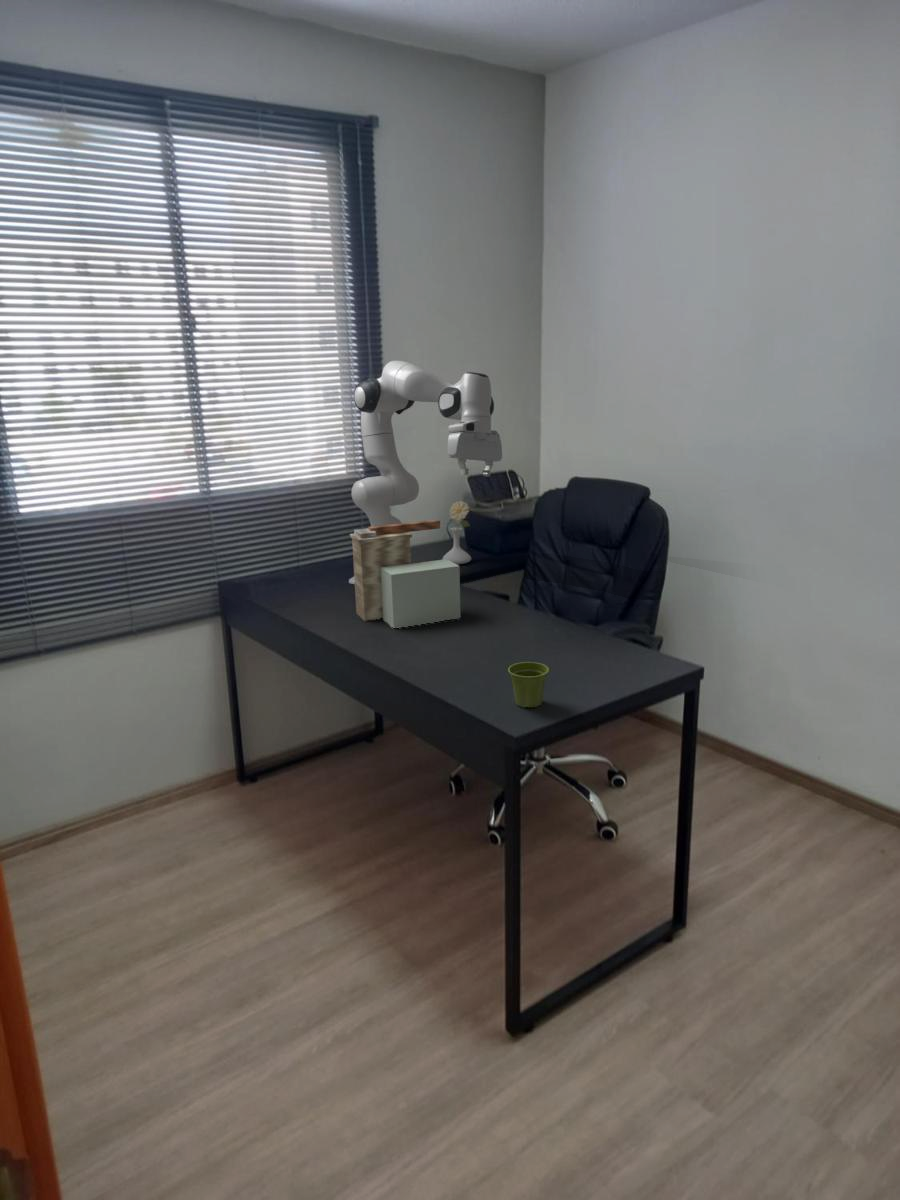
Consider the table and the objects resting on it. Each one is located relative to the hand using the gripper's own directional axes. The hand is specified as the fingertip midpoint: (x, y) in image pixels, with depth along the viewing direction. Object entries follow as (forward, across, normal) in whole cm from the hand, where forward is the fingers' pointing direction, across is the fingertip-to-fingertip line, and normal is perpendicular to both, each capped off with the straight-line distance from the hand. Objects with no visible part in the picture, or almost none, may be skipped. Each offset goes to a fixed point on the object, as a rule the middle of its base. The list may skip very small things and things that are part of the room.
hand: (475, 475), depth 247 cm
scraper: (+17, +8, -26) cm, 32 cm away
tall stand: (+43, +9, -31) cm, 54 cm away
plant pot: (+57, +32, +48) cm, 80 cm away
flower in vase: (+30, -53, -58) cm, 84 cm away
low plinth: (+44, +5, -18) cm, 48 cm away
